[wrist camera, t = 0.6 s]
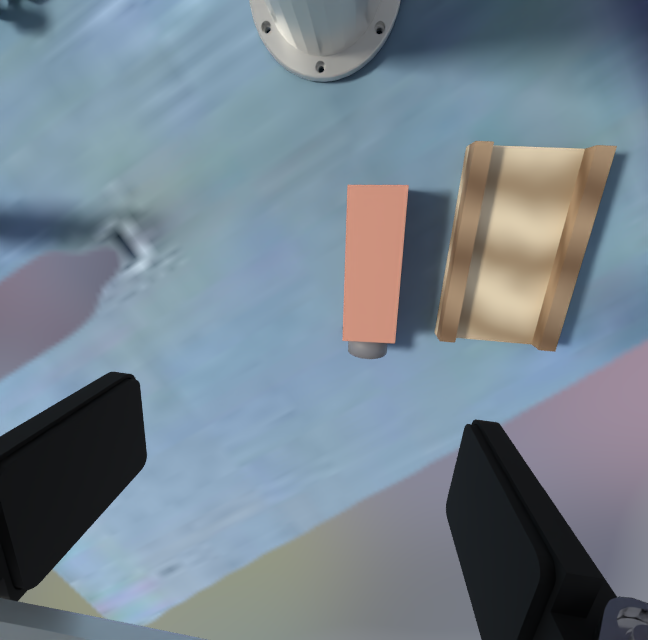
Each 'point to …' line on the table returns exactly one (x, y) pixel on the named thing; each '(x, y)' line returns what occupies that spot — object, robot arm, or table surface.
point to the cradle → (519, 241)
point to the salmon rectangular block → (373, 267)
